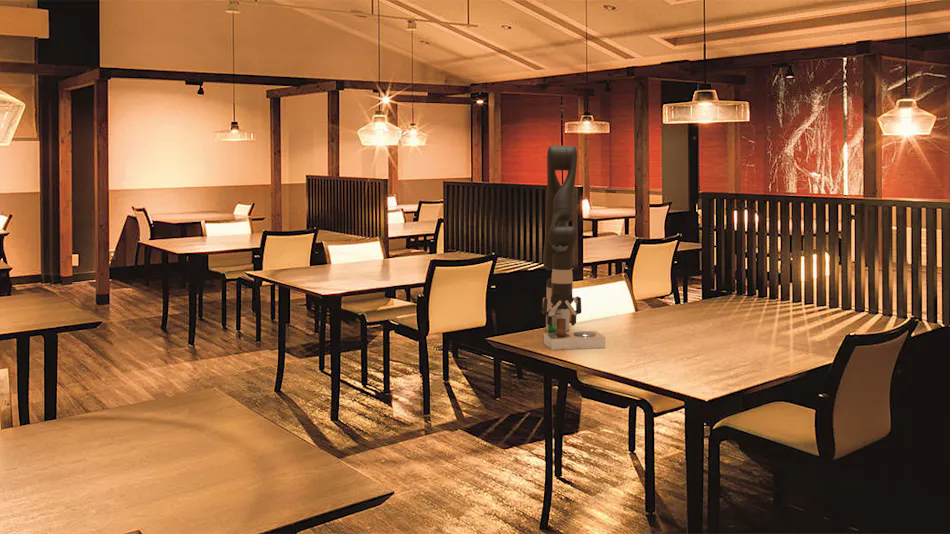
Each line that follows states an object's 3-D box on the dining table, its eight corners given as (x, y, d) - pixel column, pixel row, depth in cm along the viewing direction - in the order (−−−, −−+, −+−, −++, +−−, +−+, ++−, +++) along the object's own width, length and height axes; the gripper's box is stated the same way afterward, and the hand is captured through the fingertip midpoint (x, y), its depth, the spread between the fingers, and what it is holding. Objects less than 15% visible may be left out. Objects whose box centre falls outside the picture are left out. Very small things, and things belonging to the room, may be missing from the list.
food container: (564, 343, 319) (565, 316, 318) (548, 343, 320) (548, 316, 318) (562, 336, 332) (562, 310, 330) (546, 336, 332) (546, 310, 331)
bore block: (543, 343, 319) (543, 332, 319) (595, 341, 323) (595, 330, 322) (551, 349, 308) (551, 338, 308) (605, 347, 312) (605, 336, 312)
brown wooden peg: (552, 345, 317) (552, 318, 315) (565, 344, 318) (565, 317, 316) (556, 347, 312) (556, 320, 311) (569, 347, 313) (569, 320, 311)
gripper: (577, 279, 317) (577, 323, 318) (540, 280, 314) (539, 324, 316) (584, 282, 309) (583, 326, 311) (545, 283, 307) (545, 328, 308)
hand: (561, 325), depth 313 cm, fingers open, 8 cm apart
